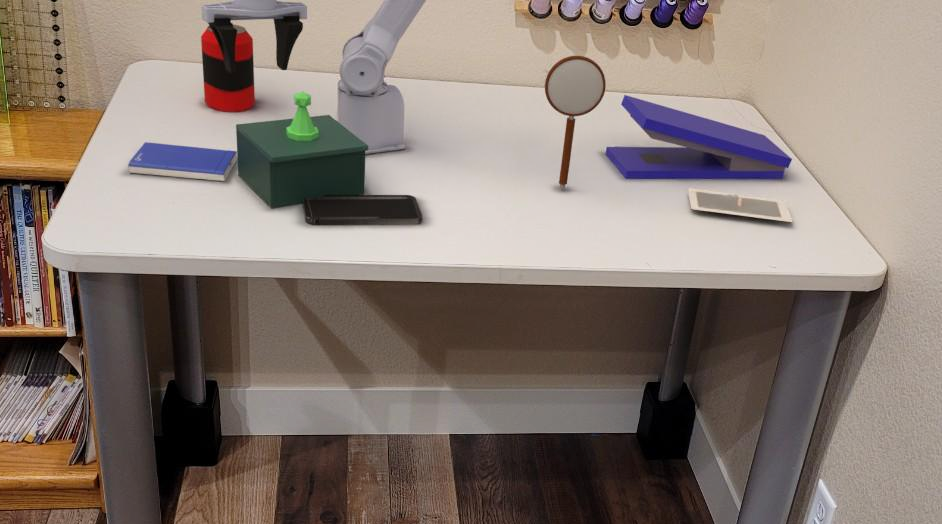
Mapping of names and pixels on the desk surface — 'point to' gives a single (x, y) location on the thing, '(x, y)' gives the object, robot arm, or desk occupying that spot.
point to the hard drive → (183, 161)
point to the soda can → (222, 85)
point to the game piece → (302, 120)
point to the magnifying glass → (573, 97)
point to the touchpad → (739, 205)
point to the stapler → (695, 148)
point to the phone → (362, 210)
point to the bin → (299, 175)
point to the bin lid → (281, 148)
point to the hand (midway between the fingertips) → (256, 69)
